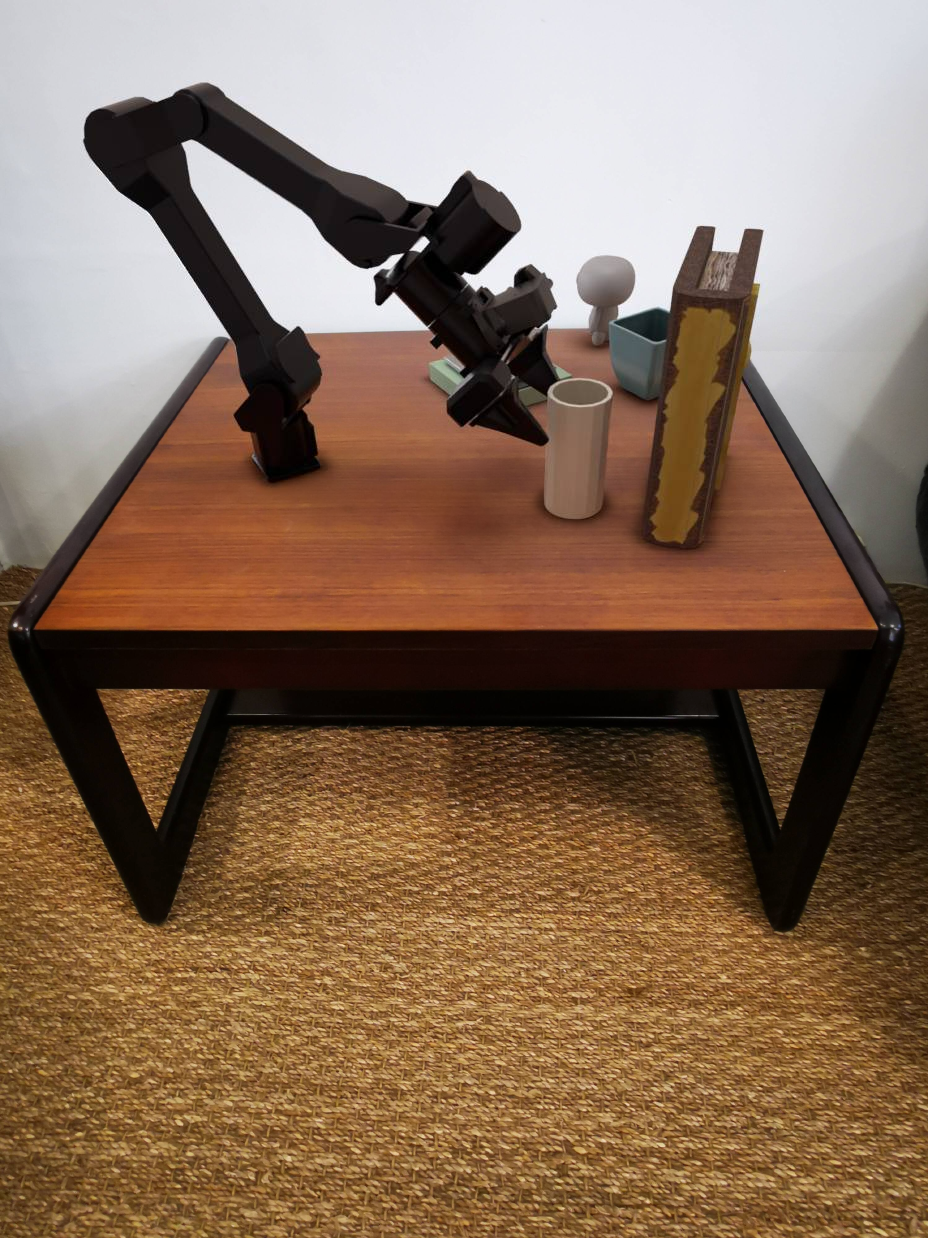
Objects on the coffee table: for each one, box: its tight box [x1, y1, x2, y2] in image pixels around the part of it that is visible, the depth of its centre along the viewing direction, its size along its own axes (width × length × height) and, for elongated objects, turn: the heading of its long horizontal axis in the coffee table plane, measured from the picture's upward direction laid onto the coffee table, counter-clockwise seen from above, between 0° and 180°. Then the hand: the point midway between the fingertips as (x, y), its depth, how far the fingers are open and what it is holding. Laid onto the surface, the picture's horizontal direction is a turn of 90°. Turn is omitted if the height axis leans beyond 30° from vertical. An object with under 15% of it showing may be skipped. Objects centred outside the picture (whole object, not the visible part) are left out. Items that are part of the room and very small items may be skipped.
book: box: [640, 225, 764, 550], centre depth 83 cm, size 22×8×25 cm, turn 162°
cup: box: [543, 377, 614, 520], centre depth 86 cm, size 6×6×13 cm
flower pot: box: [608, 306, 670, 401], centre depth 107 cm, size 9×9×9 cm
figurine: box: [575, 254, 636, 347], centre depth 118 cm, size 8×8×12 cm
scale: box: [428, 358, 573, 407], centre depth 111 cm, size 14×14×3 cm
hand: (556, 421), depth 85 cm, fingers open, 9 cm apart
